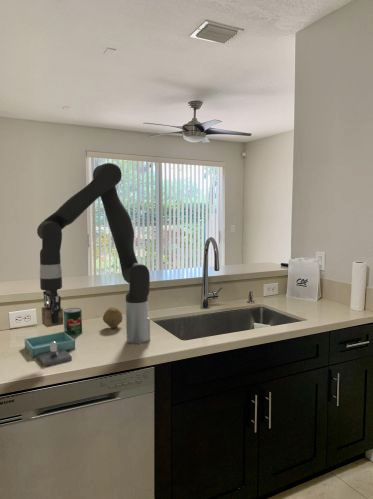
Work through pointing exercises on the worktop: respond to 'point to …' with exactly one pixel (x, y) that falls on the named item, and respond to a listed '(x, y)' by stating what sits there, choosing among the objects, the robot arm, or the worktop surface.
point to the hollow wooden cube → (48, 317)
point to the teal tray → (43, 343)
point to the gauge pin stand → (54, 356)
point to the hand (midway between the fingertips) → (52, 320)
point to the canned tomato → (73, 321)
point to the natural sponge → (112, 317)
